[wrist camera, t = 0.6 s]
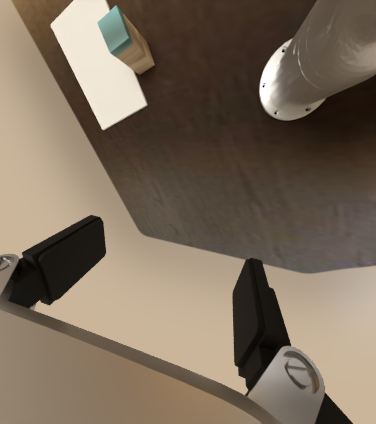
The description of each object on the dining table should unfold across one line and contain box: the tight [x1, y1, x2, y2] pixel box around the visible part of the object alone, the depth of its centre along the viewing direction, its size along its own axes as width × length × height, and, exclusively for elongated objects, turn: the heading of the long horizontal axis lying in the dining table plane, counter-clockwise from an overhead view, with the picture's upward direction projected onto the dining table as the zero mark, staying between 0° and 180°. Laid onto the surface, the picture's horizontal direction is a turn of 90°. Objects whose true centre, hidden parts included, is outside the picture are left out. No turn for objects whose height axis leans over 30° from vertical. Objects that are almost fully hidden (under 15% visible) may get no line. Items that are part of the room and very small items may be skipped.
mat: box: [51, 0, 148, 130], centre depth 36 cm, size 22×14×1 cm, turn 21°
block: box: [97, 6, 155, 75], centre depth 30 cm, size 4×4×10 cm
